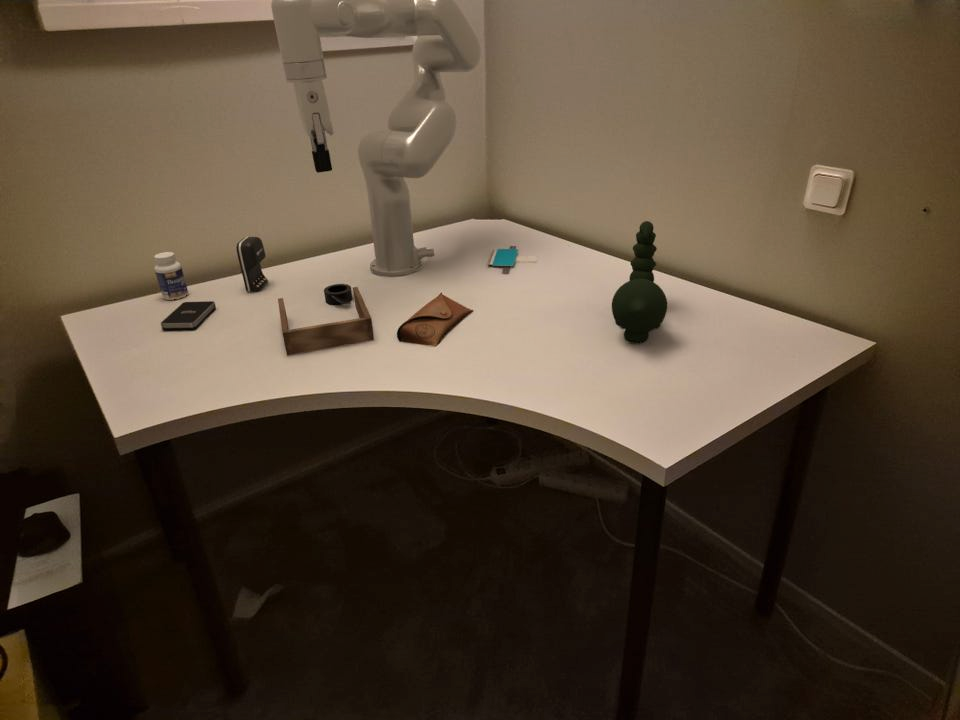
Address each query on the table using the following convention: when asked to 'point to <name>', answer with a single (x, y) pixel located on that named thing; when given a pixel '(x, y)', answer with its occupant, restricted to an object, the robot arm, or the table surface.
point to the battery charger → (251, 262)
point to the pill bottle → (170, 276)
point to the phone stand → (508, 258)
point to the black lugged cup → (338, 294)
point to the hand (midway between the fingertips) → (323, 170)
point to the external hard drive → (188, 316)
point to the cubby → (328, 330)
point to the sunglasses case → (432, 321)
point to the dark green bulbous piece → (640, 292)
